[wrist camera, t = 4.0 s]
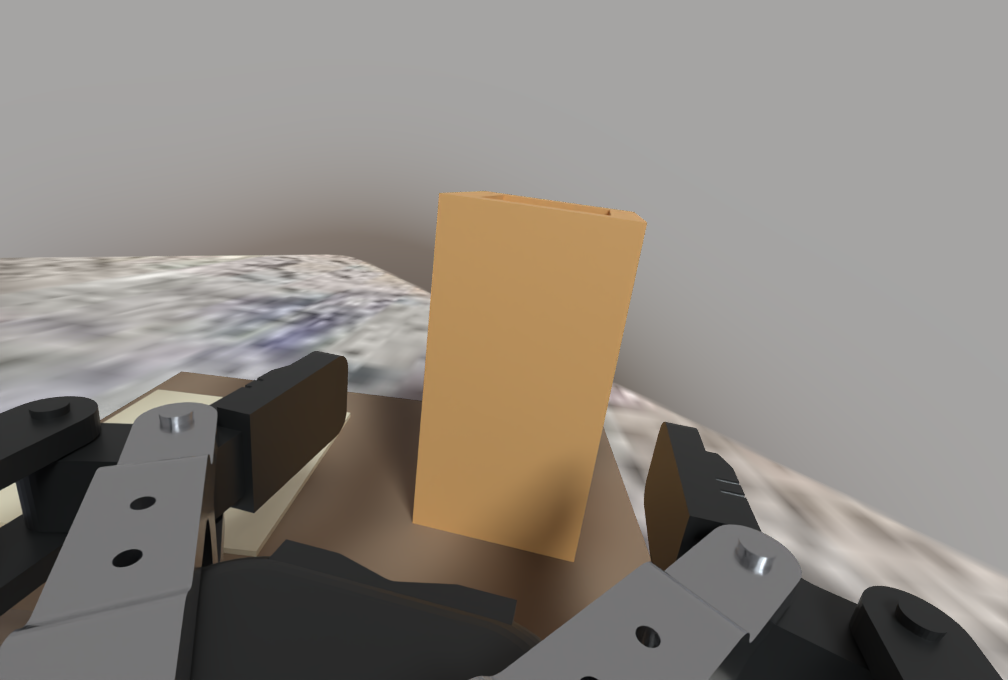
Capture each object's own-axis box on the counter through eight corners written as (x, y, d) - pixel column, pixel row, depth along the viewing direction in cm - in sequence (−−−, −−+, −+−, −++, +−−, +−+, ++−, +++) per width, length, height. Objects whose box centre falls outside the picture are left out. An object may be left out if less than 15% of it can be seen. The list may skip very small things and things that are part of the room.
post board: (-162, 633, 13) (-333, 215, 9) (183, 397, 26) (165, 191, 23) (681, 723, 13) (808, 360, 10) (596, 447, 26) (638, 253, 23)
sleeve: (573, 562, 16) (646, 223, 13) (412, 522, 17) (439, 192, 13) (580, 470, 21) (634, 212, 18) (457, 443, 22) (485, 191, 19)
